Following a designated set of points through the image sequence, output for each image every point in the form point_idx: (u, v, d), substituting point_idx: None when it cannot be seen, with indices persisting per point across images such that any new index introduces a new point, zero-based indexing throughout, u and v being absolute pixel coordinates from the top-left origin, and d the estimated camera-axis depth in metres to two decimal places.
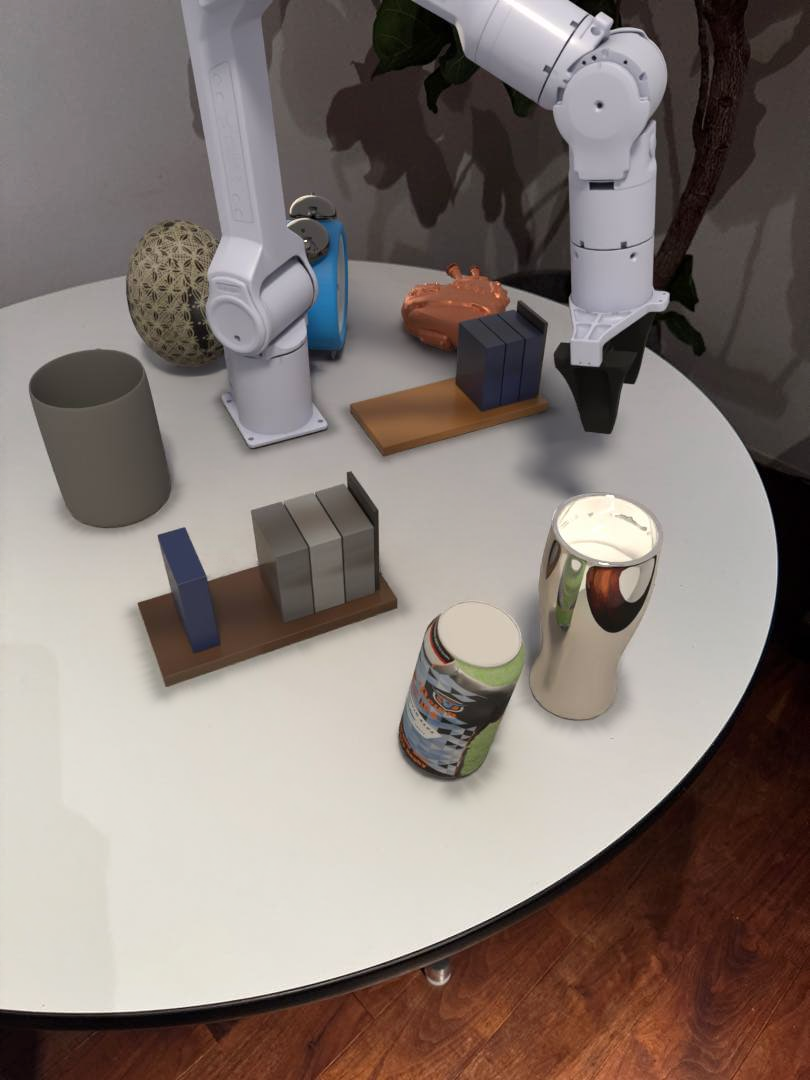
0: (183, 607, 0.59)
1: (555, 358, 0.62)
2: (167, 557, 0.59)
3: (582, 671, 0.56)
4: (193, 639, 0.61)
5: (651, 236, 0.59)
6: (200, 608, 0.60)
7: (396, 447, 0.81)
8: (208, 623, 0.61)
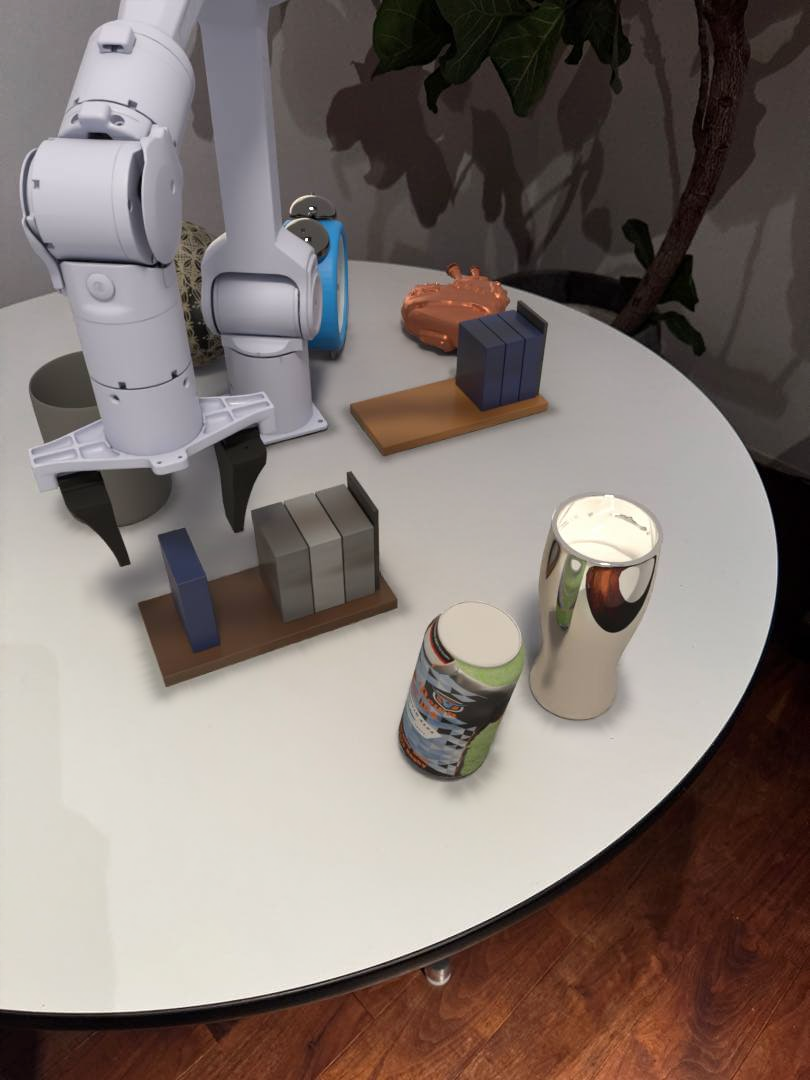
0: (183, 607, 0.59)
1: None
2: (167, 557, 0.59)
3: (582, 671, 0.56)
4: (193, 639, 0.61)
5: (116, 387, 0.47)
6: (200, 608, 0.60)
7: (396, 447, 0.81)
8: (208, 623, 0.61)
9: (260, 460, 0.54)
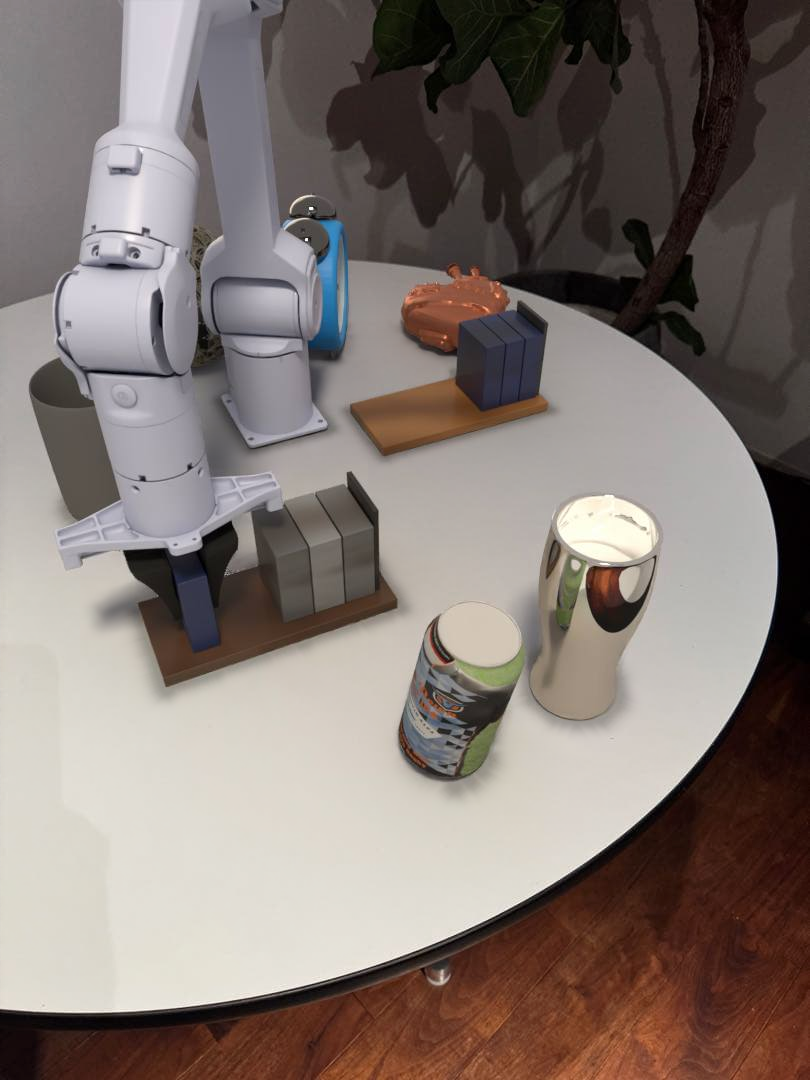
0: (183, 607, 0.59)
1: None
2: (167, 557, 0.59)
3: (582, 671, 0.56)
4: (193, 639, 0.61)
5: (136, 479, 0.52)
6: (201, 608, 0.60)
7: (396, 447, 0.81)
8: (208, 623, 0.61)
9: (232, 547, 0.57)
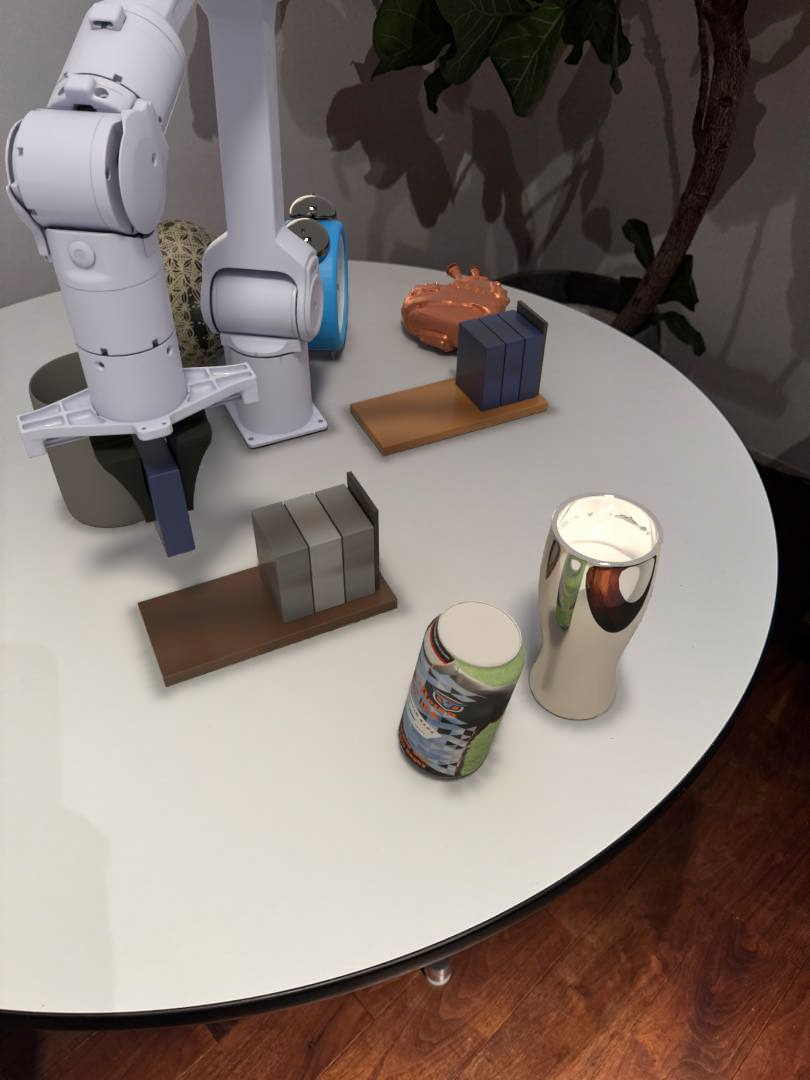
0: (155, 504, 0.56)
1: None
2: (138, 452, 0.57)
3: (582, 671, 0.56)
4: (167, 541, 0.58)
5: (98, 353, 0.49)
6: (174, 506, 0.57)
7: (396, 447, 0.81)
8: (182, 524, 0.58)
9: (205, 438, 0.55)
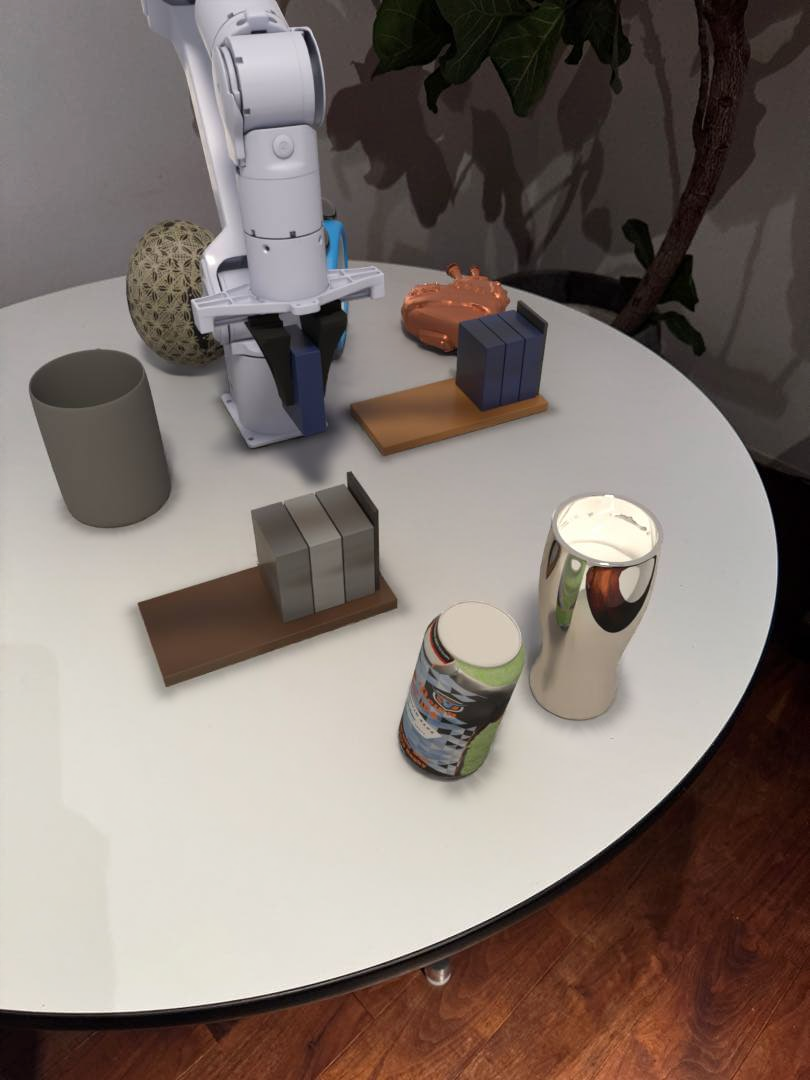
0: (298, 382, 0.66)
1: None
2: None
3: (582, 671, 0.56)
4: (304, 420, 0.68)
5: (287, 237, 0.60)
6: (313, 385, 0.67)
7: (396, 447, 0.81)
8: (318, 404, 0.68)
9: (342, 322, 0.65)
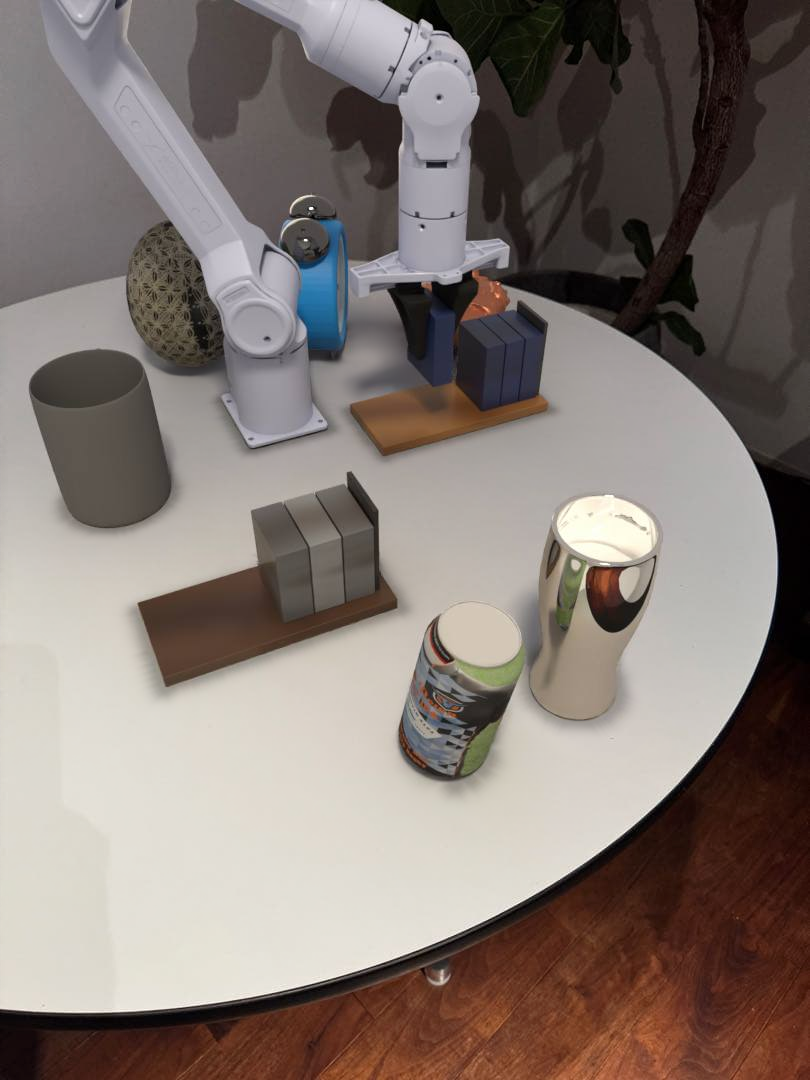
0: (435, 340, 0.77)
1: None
2: None
3: (582, 671, 0.56)
4: (435, 373, 0.79)
5: (467, 206, 0.71)
6: (445, 343, 0.78)
7: (396, 447, 0.81)
8: (447, 360, 0.79)
9: (475, 289, 0.76)
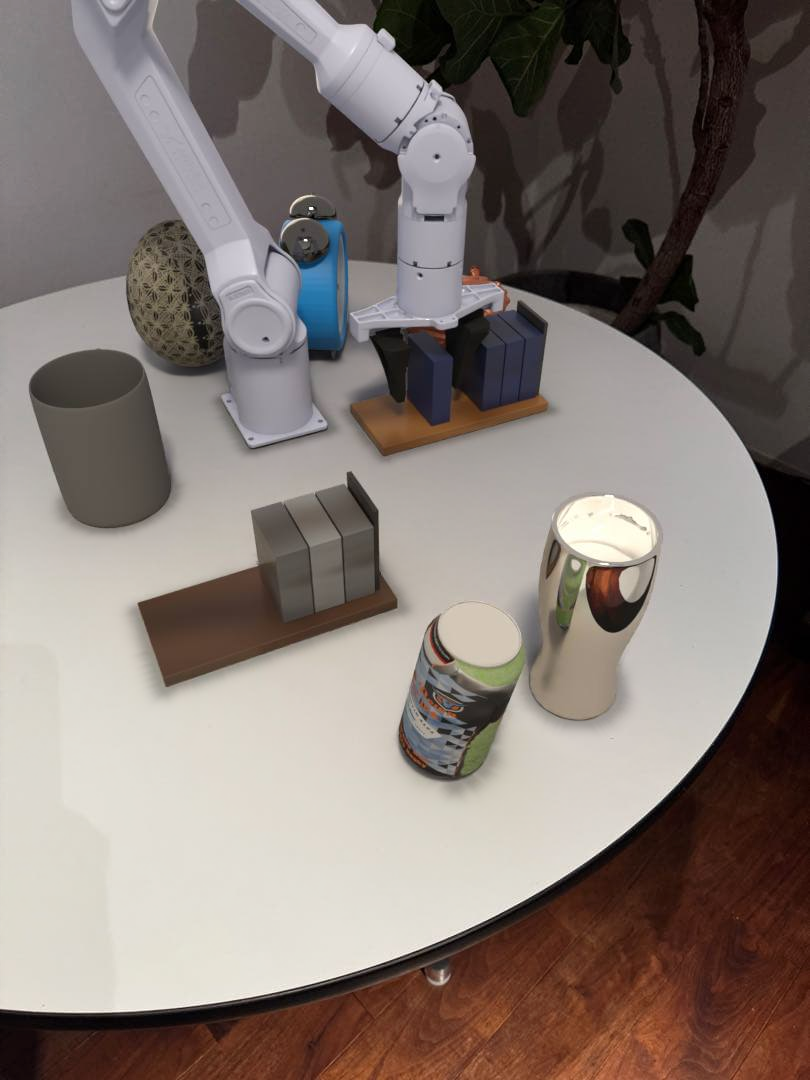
0: (433, 383, 0.80)
1: None
2: (420, 347, 0.80)
3: (582, 671, 0.56)
4: (434, 413, 0.82)
5: (463, 255, 0.74)
6: (444, 385, 0.81)
7: (396, 447, 0.81)
8: (445, 400, 0.82)
9: (487, 329, 0.79)
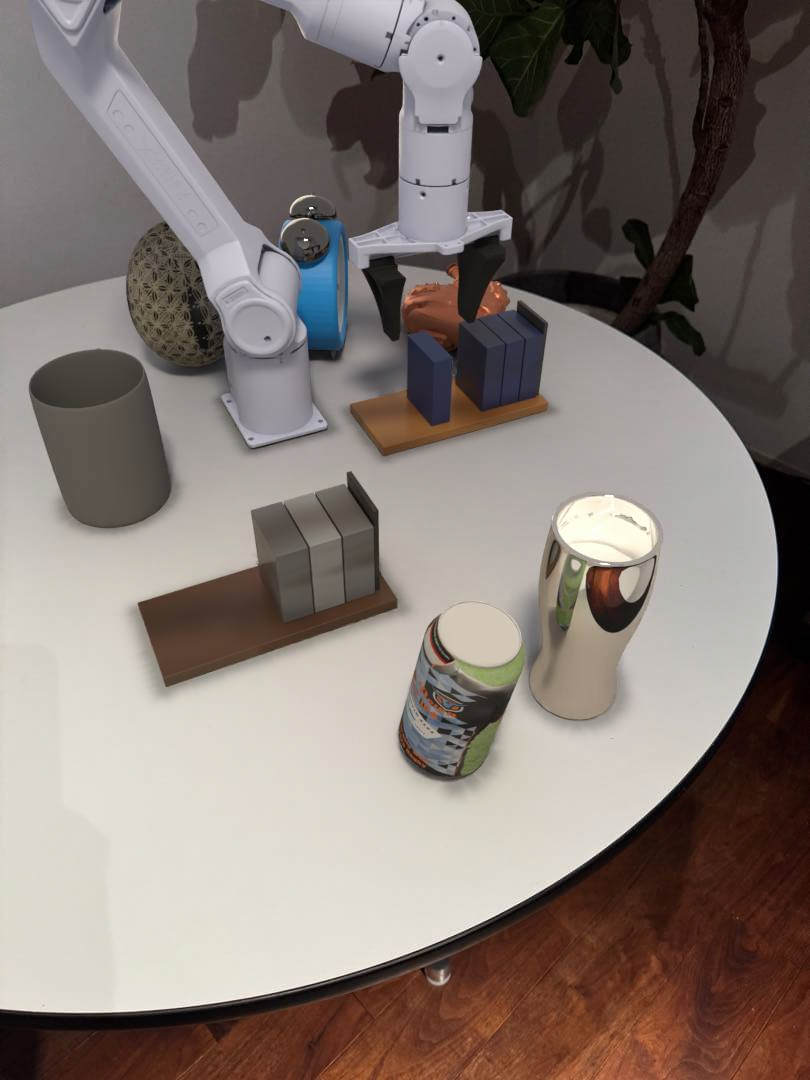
0: (433, 383, 0.80)
1: None
2: (420, 347, 0.80)
3: (582, 671, 0.56)
4: (434, 413, 0.82)
5: (469, 174, 0.70)
6: (444, 385, 0.81)
7: (396, 447, 0.81)
8: (445, 400, 0.82)
9: (503, 256, 0.75)
